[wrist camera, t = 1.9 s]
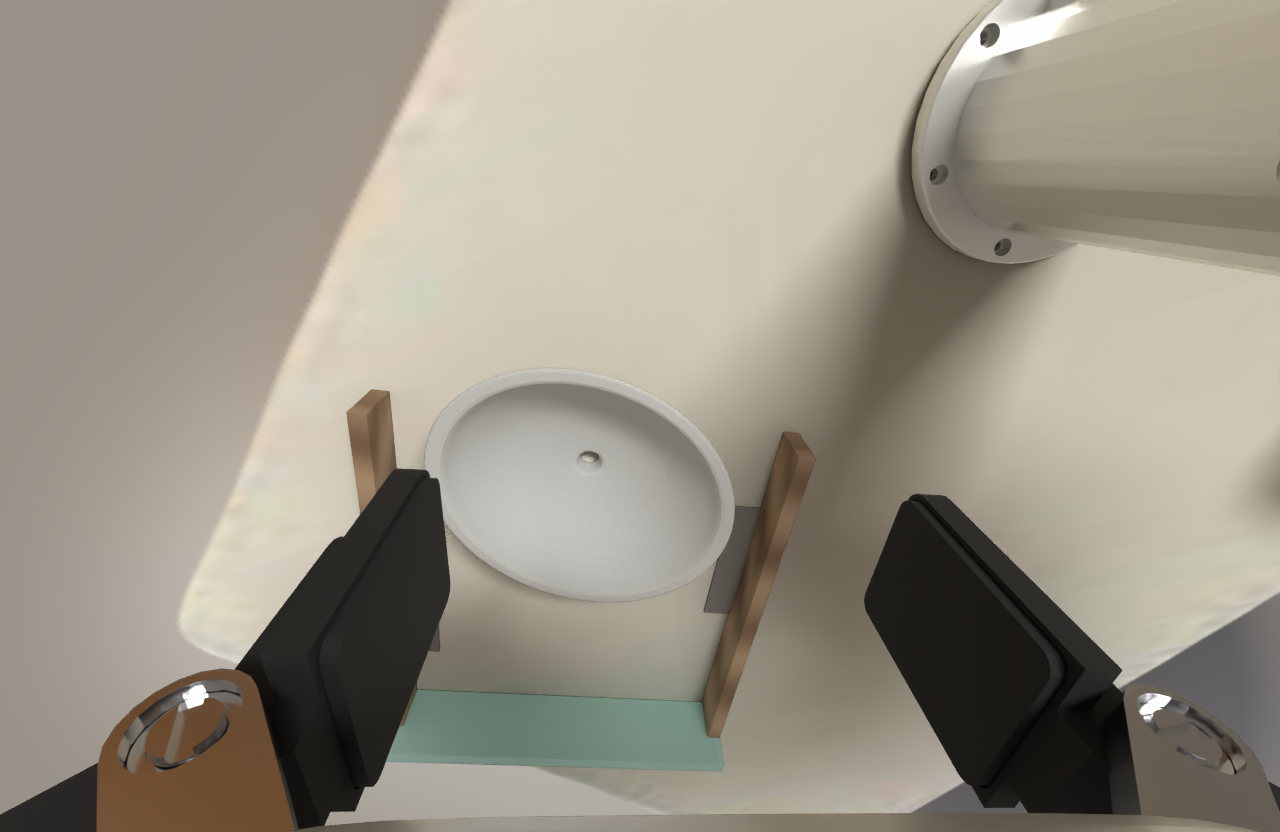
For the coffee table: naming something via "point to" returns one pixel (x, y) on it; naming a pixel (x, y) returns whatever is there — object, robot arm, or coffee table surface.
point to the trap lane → (591, 724)
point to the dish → (580, 485)
